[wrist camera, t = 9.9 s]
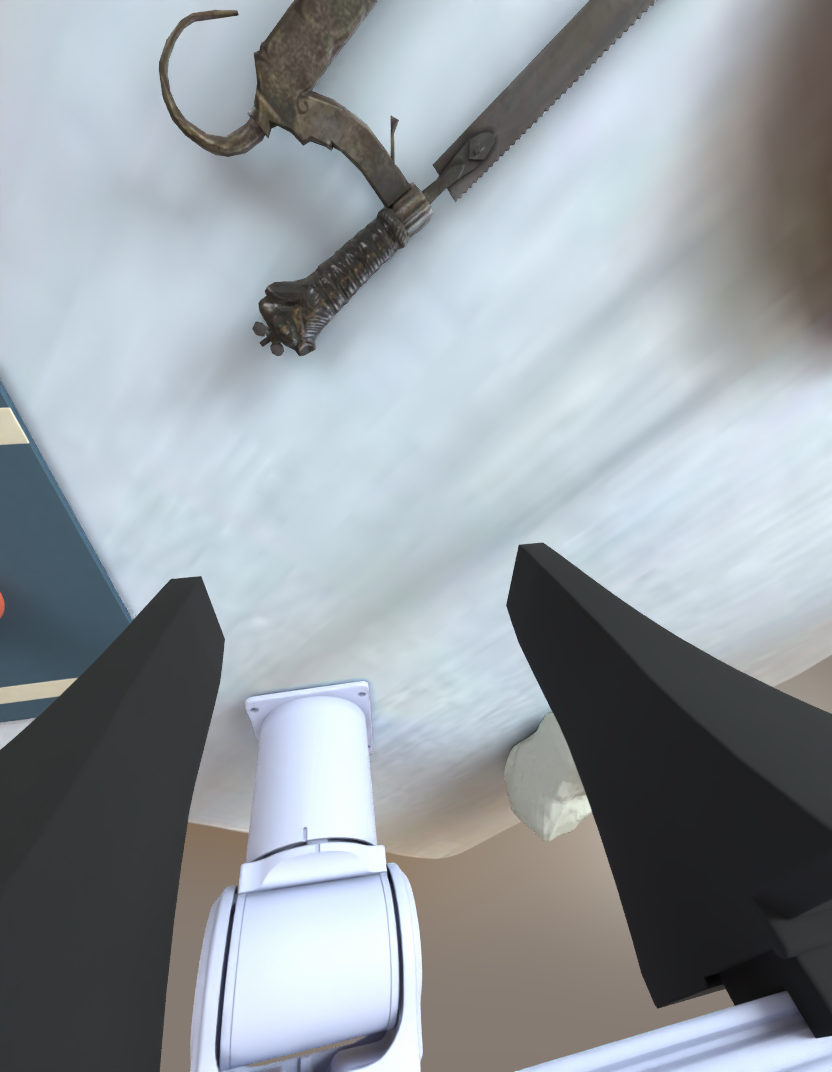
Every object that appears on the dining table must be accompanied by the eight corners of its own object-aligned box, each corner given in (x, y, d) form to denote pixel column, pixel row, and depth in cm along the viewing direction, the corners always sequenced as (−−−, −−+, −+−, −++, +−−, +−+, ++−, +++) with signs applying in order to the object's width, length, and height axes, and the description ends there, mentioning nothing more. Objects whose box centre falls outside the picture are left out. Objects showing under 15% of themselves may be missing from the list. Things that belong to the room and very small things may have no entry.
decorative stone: (593, 777, 43) (576, 887, 35) (510, 725, 45) (477, 818, 37) (660, 726, 36) (656, 848, 28) (559, 666, 38) (530, 766, 30)
